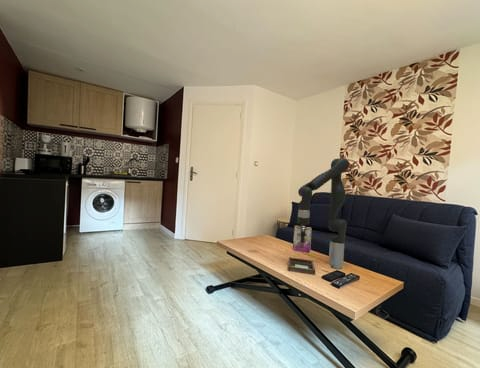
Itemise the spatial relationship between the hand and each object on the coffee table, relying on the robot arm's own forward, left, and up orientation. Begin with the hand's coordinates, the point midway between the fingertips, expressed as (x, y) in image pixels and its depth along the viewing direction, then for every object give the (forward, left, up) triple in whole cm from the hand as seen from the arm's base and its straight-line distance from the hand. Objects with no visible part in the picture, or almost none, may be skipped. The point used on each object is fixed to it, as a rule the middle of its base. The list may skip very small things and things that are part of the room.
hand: (302, 241), depth 154 cm
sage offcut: (+9, 0, -16) cm, 19 cm away
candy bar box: (0, 0, -7) cm, 7 cm away
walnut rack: (+5, 0, -17) cm, 18 cm away
